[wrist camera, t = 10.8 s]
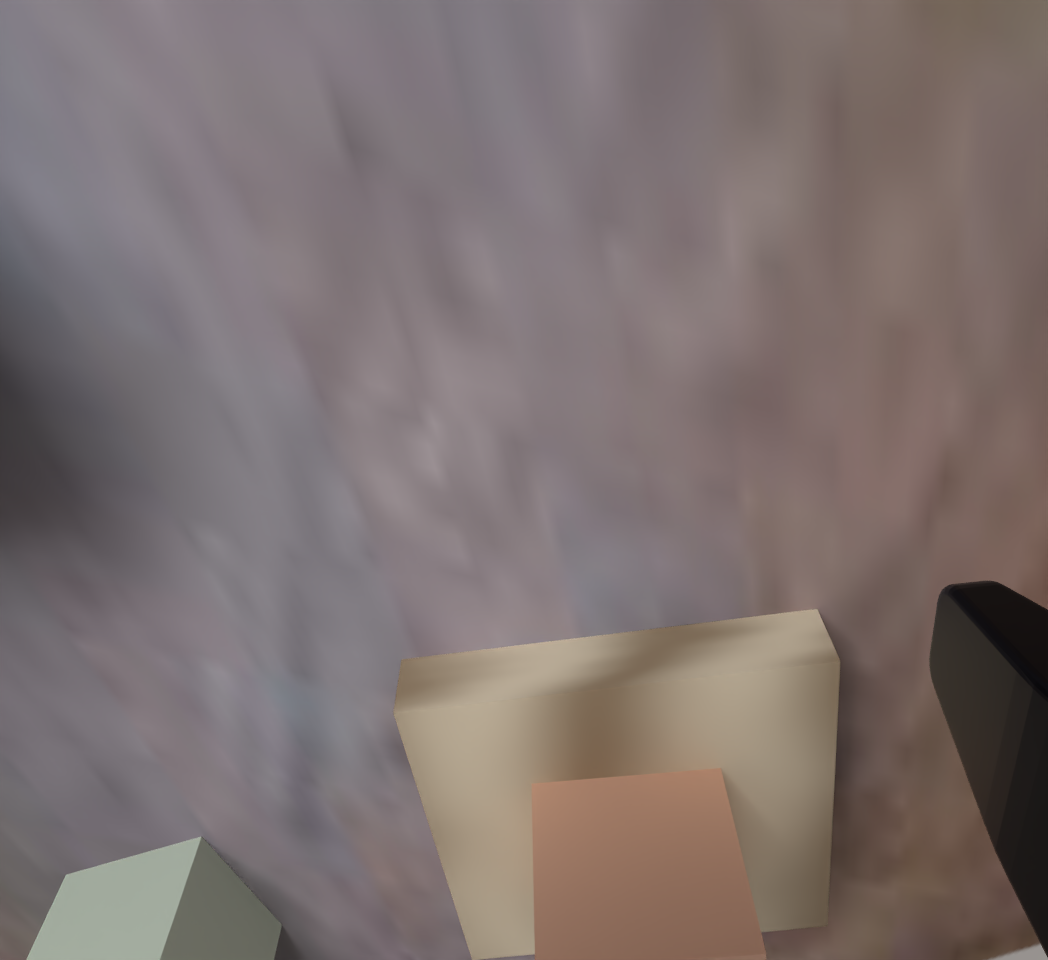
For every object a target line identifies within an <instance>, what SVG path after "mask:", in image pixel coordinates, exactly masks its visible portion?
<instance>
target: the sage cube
mask: <svg viewBox="0 0 1048 960" xmlns="http://www.w3.org/2000/svg"><path fill="white" fill-rule="evenodd" d="M281 927H282V924H281V923H280V922H279V921H278V920H277V919H276V918H275V917H274V916H273V915H272V913H271V912H270V911H269V910H268V909H267V908H266V907H265V906H264V905H263V904H262V902H261V901H260V900H259V899H258V898H257V897H256V896H255V895H254V894H253V893H252V891H251V890H250V889H249V888H248V887H247V886H246V885H245V884H244V883H243V882H242V881H241V879H240V878H239V877H238V876H237V875H236V874H235V873H234V872H233V871H232V870H231V868H230V867H229V866H228V865H227V864H226V863H225V862H224V861H223V860H222V859H221V857H220V856H219V855H218V854H217V853H216V852H215V851H214V850H213V849H212V848H211V846H210V845H209V844H208V843H207V842H206V841H205V840H204V839H203V838H202V837H198V838H195V839H191V840H188V841H184V842H181V843H177V844H174V845H170V846H167V847H163V848H159V849H156V850H152V851H149V852H145V853H142V854H138V855H135V856H131V857H128V858H124V859H120V860H117V861H113V862H110V863H106V864H103V865H99V866H96V867H92V868H89V869H85V870H81V871H78V872H74V873H71V874H67V875H66V876H65V878H64V880H63V882H62V885H61V887H60V889H59V891H58V893H57V895H56V897H55V900H54V902H53V904H52V906H51V908H50V910H49V912H48V915H47V917H46V919H45V921H44V923H43V925H42V927H41V929H40V932H39V934H38V936H37V938H36V940H35V942H34V944H33V947H32V949H31V951H30V953H29V955H28V957H27V959H26V960H274V958H275V953H276V949H277V945H278V940H279V936H280V931H281Z"/></svg>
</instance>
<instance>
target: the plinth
mask: <svg viewBox="0 0 1048 960" xmlns="http://www.w3.org/2000/svg"><path fill="white" fill-rule="evenodd" d="M839 680H840V659H839V657H838V655H837V652H836V650H835V648H834V646H833V643H832V641H831V639H830V637H829V634H828V632H827V630H826V628H825V625H824V623H823V621H822V619H821V616H820V614H819V612H818V610H817V609H813V610H805V611H796V612H788V613H780V614H772V615H764V616H755V617H747V618H739V619H731V620H723V621H714V622H706V623H698V624H690V625H682V626H673V627H665V628H657V629H649V630H640V631H632V632H624V633H616V634H608V635H599V636H591V637H583V638H575V639H567V640H558V641H550V642H542V643H534V644H526V645H517V646H509V647H501V648H493V649H485V650H476V651H468V652H460V653H452V654H444V655H435V656H427V657H419V658H411V659H403V660H401V666H400V673H399V679H398V686H397V693H396V699H395V706H394V712H393V713H394V717H395V720H396V723H397V726H398V729H399V732H400V735H401V738H402V742H403V745H404V748H405V751H406V754H407V757H408V760H409V764H410V767H411V770H412V773H413V776H414V779H415V782H416V785H417V789H418V792H419V795H420V798H421V801H422V804H423V807H424V810H425V814H426V817H427V820H428V823H429V826H430V829H431V832H432V836H433V839H434V842H435V845H436V848H437V851H438V854H439V857H440V861H441V864H442V867H443V870H444V873H445V876H446V879H447V882H448V886H449V889H450V892H451V895H452V898H453V901H454V904H455V907H456V911H457V914H458V917H459V920H460V923H461V926H462V929H463V933H464V936H465V939H466V942H467V945H468V948H469V951H470V954H471V958H472V960H478V959H489V958H499V957H510V956H520V955H530V954H535V936H534V885H533V835H532V785H531V784H533V783H545V782H557V781H569V780H582V779H594V778H606V777H618V776H630V775H643V774H655V773H667V772H679V771H691V770H704V769H716V768H721V771H722V775H723V779H724V783H725V787H726V791H727V795H728V800H729V804H730V808H731V812H732V816H733V820H734V824H735V828H736V832H737V836H738V840H739V844H740V848H741V853H742V857H743V861H744V865H745V869H746V873H747V877H748V881H749V885H750V889H751V893H752V897H753V901H754V905H755V910H756V914H757V918H758V922H759V926H760V930H761V932H771V931H781V930H792V929H802V928H813V927H823V926H827V925H828V905H829V884H830V864H831V844H832V823H833V803H834V782H835V762H836V741H837V721H838V701H839Z"/></svg>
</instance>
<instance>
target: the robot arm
mask: <svg viewBox="0 0 1048 960" xmlns="http://www.w3.org/2000/svg"><path fill="white" fill-rule="evenodd" d="M929 662H930V673H931V678H932V682H933V685H934V688H935V691H936V694H937V696H938V699H939V702H940V705H941V707H942V710H943V713H944V715H945V718H946V721H947V724H948V726H949V729H950V732H951V734H952V737H953V740H954V743H955V745H956V748H957V751H958V753H959V756H960V759H961V762H962V764H963V767H964V770H965V772H966V775H967V778H968V781H969V783H970V786H971V789H972V791H973V794H974V797H975V800H976V802H977V805H978V808H979V810H980V813H981V816H982V819H983V821H984V824H985V826H986V829H987V831H988V834H989V836H990V839H991V841H992V844H993V847H994V849H995V851H996V854H997V856H998V858H999V860H1000V862H1001V864H1002V866H1003V868H1004V871H1005V873H1006V875H1007V877H1008V879H1009V881H1010V883H1011V885H1012V887H1013V889H1014V891H1015V893H1016V895H1017V897H1018V899H1019V901H1020V903H1021V905H1022V907H1023V909H1024V911H1025V913H1026V915H1027V917H1028V919H1029V921H1030V923H1031V925H1032V927H1033V929H1034V931H1035V933H1036V935H1037V937H1038V939H1039V941H1040V943H1041V945H1042V947H1043V949H1044V951H1045V953H1046V955H1047V957H1048V610H1047V609H1045V608H1044V607H1042V606H1040V605H1038V604H1036V603H1035V602H1033V601H1031V600H1029V599H1028V598H1026V597H1024V596H1022V595H1020V594H1019V593H1017V592H1015V591H1013V590H1011V589H1010V588H1008V587H1006V586H1004V585H1002V584H1000V583H998V582H994V581H979V582H969V583H960V584H951V585H948V586H947V587H945V588H944V589H943V590H942V591H941V593H940V595H939V598H938V602H937V609H936V616H935V623H934V630H933V636H932V643H931V650H930V658H929Z"/></svg>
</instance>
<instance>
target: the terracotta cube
mask: <svg viewBox="0 0 1048 960" xmlns="http://www.w3.org/2000/svg"><path fill="white" fill-rule="evenodd" d="M531 785H532V835H533V885H534V936H535V960H766V950H765V946H764V942H763V938H762V934H761V930H760V926H759V922H758V918H757V914H756V910H755V905H754V901H753V897H752V893H751V889H750V885H749V881H748V877H747V873H746V869H745V865H744V861H743V857H742V853H741V848H740V844H739V840H738V836H737V832H736V828H735V824H734V820H733V816H732V812H731V808H730V804H729V800H728V795H727V791H726V787H725V783H724V779H723V775H722V771H721V768H716V769H704V770H691V771H679V772H667V773H655V774H643V775H630V776H618V777H606V778H594V779H582V780H569V781H557V782H545V783H533V784H531Z"/></svg>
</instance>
